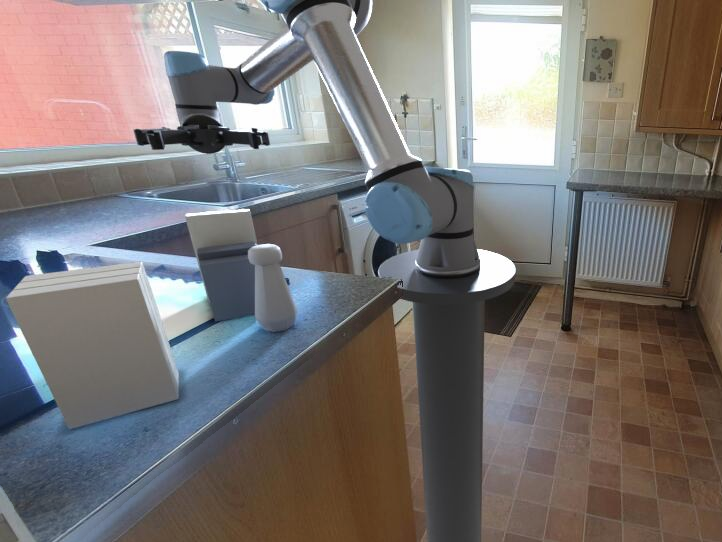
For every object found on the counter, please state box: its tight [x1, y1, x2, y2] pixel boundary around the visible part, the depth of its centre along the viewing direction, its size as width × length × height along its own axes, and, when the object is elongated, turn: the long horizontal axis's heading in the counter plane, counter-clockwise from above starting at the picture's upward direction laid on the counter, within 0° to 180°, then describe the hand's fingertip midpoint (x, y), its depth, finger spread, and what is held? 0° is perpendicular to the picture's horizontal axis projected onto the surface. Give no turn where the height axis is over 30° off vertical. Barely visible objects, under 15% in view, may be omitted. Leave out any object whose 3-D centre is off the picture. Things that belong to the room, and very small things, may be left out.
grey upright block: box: [197, 242, 258, 323], centre depth 67 cm, size 8×8×10 cm
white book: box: [184, 208, 258, 302], centre depth 71 cm, size 9×2×15 cm, turn 127°
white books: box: [5, 261, 180, 430], centre depth 44 cm, size 9×6×15 cm
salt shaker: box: [248, 243, 298, 333], centre depth 62 cm, size 6×6×13 cm
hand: (209, 141), depth 70 cm, fingers open, 13 cm apart
